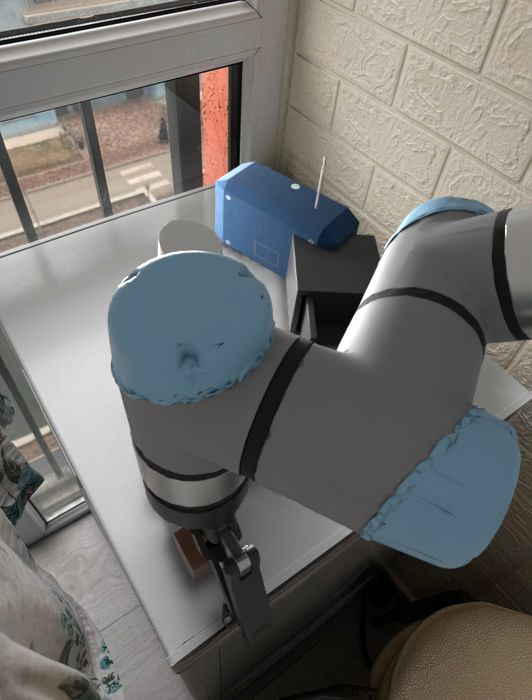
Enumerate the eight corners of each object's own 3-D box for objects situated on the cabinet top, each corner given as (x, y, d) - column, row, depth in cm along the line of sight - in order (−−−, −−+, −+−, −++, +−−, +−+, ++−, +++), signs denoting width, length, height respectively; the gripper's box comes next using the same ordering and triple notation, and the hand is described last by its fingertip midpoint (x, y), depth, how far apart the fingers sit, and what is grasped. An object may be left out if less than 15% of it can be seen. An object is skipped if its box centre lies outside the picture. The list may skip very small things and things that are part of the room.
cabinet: (372, 338, 70) (388, 294, 64) (289, 334, 69) (297, 290, 63) (360, 279, 77) (374, 235, 71) (285, 276, 77) (292, 230, 70)
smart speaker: (219, 347, 67) (220, 269, 56) (151, 335, 67) (139, 255, 56) (233, 297, 73) (237, 217, 62) (170, 286, 73) (163, 205, 62)
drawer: (386, 423, 61) (403, 392, 55) (301, 421, 60) (309, 389, 55) (368, 326, 70) (380, 292, 65) (294, 323, 70) (300, 288, 64)
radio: (348, 274, 80) (381, 158, 64) (318, 304, 75) (346, 188, 60) (244, 217, 87) (251, 100, 71) (211, 242, 82) (211, 123, 66)
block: (229, 559, 50) (230, 546, 47) (194, 582, 49) (192, 570, 46) (210, 525, 52) (209, 511, 49) (175, 545, 51) (172, 532, 48)
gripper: (356, 593, 29) (303, 649, 46) (164, 314, 41) (177, 439, 58) (246, 676, 26) (232, 703, 43) (74, 349, 38) (115, 470, 55)
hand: (201, 552), depth 51 cm, fingers open, 13 cm apart
